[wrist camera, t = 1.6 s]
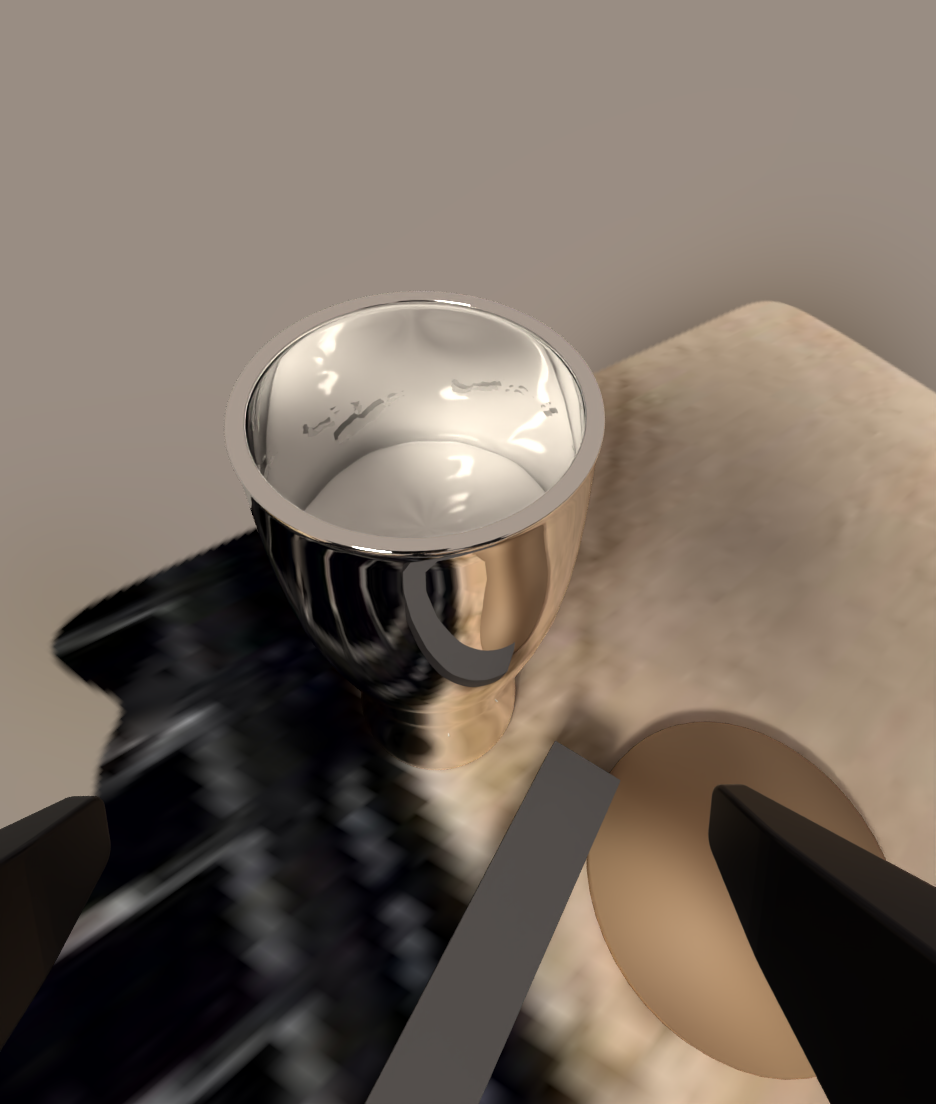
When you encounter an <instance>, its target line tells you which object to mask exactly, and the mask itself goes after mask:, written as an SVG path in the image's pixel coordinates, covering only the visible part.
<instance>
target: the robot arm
mask: <svg viewBox="0 0 936 1104" xmlns="http://www.w3.org/2000/svg"><path fill="white" fill-rule="evenodd" d="M708 839H709V845H710V849H711V851H712V854H713V857H714V859H715V861H716V864H717V866H718V869H719V871H720V874H721V876H722V879H723V881H724V884H725V886H726V888H727V891H728V893H729V896H730V898H731V901H732V903H733V906H734V908H735V911H736V913H737V916H738V918H739V920H740V923H741V925H742V928H743V930H744V933H745V935H746V938H747V940H748V942H749V945H750V947H751V949H752V952H753V954H754V956H755V958H756V960H757V962H758V964H759V966H760V969H761V971H762V973H763V975H764V977H765V979H766V981H767V982H768V984H769V986H770V988H771V990H772V992H773V994H774V996H775V998H776V1000H777V1002H778V1004H779V1006H780V1008H781V1009H782V1011H783V1013H784V1015H785V1017H786V1019H787V1021H788V1023H789V1025H790V1027H791V1029H792V1031H793V1033H794V1035H795V1036H796V1038H797V1040H798V1042H799V1044H800V1046H801V1048H802V1050H803V1052H804V1054H805V1056H806V1058H807V1060H808V1062H809V1063H810V1065H811V1067H812V1069H813V1071H814V1073H815V1075H816V1077H817V1079H818V1081H819V1083H820V1085H821V1087H822V1089H823V1090H824V1092H825V1094H826V1096H827V1098H828V1100H829V1102H830V1104H936V887H934V886H932V885H930V884H929V883H927V882H925V881H923V880H921V879H919V878H917V877H916V876H914V875H912V874H910V873H908V872H906V871H904V870H902V869H901V868H899V867H897V866H895V865H893V864H891V863H889V862H888V861H886V860H884V859H882V858H880V857H878V856H876V855H874V854H873V853H871V852H869V851H867V850H865V849H863V848H861V847H860V846H858V845H856V844H854V843H852V842H850V841H848V840H847V839H845V838H843V837H841V836H839V835H837V834H835V833H834V832H832V831H830V830H828V829H826V828H824V827H822V826H820V825H819V824H817V823H815V822H813V821H811V820H809V819H807V818H806V817H804V816H802V815H800V814H798V813H796V812H794V811H793V810H791V809H789V808H787V807H785V806H783V805H781V804H780V803H778V802H776V801H774V800H772V799H770V798H768V797H766V796H765V795H763V794H761V793H759V792H757V791H755V790H753V789H752V788H750V787H748V786H746V785H743V784H719V785H717V786H716V787H714V789H713V792H712V797H711V807H710V818H709V828H708ZM110 849H111V843H110V836H109V830H108V823H107V817H106V810H105V805H104V802H103V800H102V799H101V798H99V797H97V796H73V797H68V798H65V799H63V800H61V801H59V802H57V803H55V804H53V805H51V806H49V807H46V808H44V809H42V810H40V811H38V812H36V813H34V814H31V815H29V816H27V817H25V818H23V819H21V820H19V821H17V822H15V823H13V824H10V825H8V826H6V827H4V828H2V829H0V1051H1V1049H2V1048H3V1046H4V1045H5V1043H6V1041H7V1040H8V1038H9V1037H10V1035H11V1033H12V1032H13V1030H14V1029H15V1027H16V1026H17V1024H18V1022H19V1021H20V1019H21V1018H22V1016H23V1015H24V1013H25V1011H26V1010H27V1008H28V1007H29V1005H30V1004H31V1002H32V1000H33V999H34V997H35V996H36V994H37V992H38V991H39V989H40V987H41V986H42V984H43V982H44V981H45V979H46V977H47V976H48V974H49V972H50V970H51V968H52V967H53V965H54V963H55V961H56V960H57V958H58V956H59V954H60V952H61V950H62V948H63V946H64V944H65V943H66V941H67V939H68V937H69V935H70V933H71V931H72V929H73V927H74V925H75V923H76V922H77V920H78V918H79V916H80V914H81V912H82V910H83V908H84V906H85V904H86V903H87V901H88V899H89V897H90V895H91V893H92V891H93V889H94V887H95V885H96V884H97V882H98V880H99V878H100V876H101V874H102V872H103V870H104V868H105V866H106V864H107V862H108V859H109V855H110Z"/></svg>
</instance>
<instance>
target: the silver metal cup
mask: <svg viewBox="0 0 936 1104" xmlns="http://www.w3.org/2000/svg"><path fill="white" fill-rule="evenodd" d="M604 432H605V409H604V403H603V398H602V394H601V391H600V388H599V385H598V383H597V381H596V378H595V377H594V375H593V373H592V371H591V370H590V368H589V366H588V365H587V363H586V362H585V360H584V359H583V358H582V357H581V355H580V354H579V353H578V352H577V350H576V349H575V348H574V347H573V346H572V345H571V344H570V343H569V342H568V341H567V340H565V339H564V338H563V337H562V336H561V335H559V334H558V333H557V332H556V331H554V330H553V329H552V328H550V327H549V326H547V325H545V324H543V323H542V322H541V321H539V320H537V319H535V318H533V317H532V316H530V315H528V314H526V313H523V312H521V311H519V310H517V309H514V308H512V307H509V306H506V305H504V304H501V303H497V302H494V301H491V300H487V299H483V298H479V297H474V296H469V295H464V294H457V293H448V292H435V291H405V292H392V293H384V294H377V295H371V296H366V297H361V298H358V299H353V300H349V301H346V302H342V303H339V304H336V305H333V306H330V307H328V308H325V309H323V310H320V311H318V312H316V313H313V314H311V315H309V316H307V317H305V318H303V319H301V320H299V321H297V322H296V323H294V324H292V325H291V326H289V327H287V328H286V329H285V330H283V331H282V332H280V333H279V334H277V335H276V336H275V337H273V338H272V339H271V340H270V341H269V342H267V343H266V344H265V345H264V346H263V347H262V348H261V349H260V350H259V351H258V352H257V353H256V354H255V355H254V356H253V357H252V358H251V360H250V361H249V362H248V363H247V365H246V366H245V368H244V369H243V370H242V372H241V373H240V375H239V377H238V379H237V380H236V382H235V385H234V387H233V389H232V391H231V394H230V396H229V399H228V403H227V406H226V412H225V419H224V437H225V444H226V450H227V454H228V457H229V460H230V463H231V465H232V468H233V470H234V472H235V474H236V476H237V477H238V479H239V481H240V482H241V484H242V487H243V490H244V493H245V495H246V498H247V501H248V504H249V507H250V510H251V513H252V516H253V519H254V522H255V525H256V528H257V531H258V533H259V536H260V539H261V541H262V544H263V547H264V549H265V552H266V555H267V557H268V560H269V563H270V565H271V567H272V570H273V572H274V574H275V576H276V578H277V580H278V583H279V585H280V587H281V589H282V591H283V594H284V596H285V598H286V600H287V602H288V604H289V606H290V608H291V609H292V611H293V613H294V614H295V616H296V617H297V619H298V621H299V622H300V624H301V626H302V627H303V629H304V630H305V632H306V634H307V635H308V637H309V638H310V640H311V641H312V643H313V644H314V645H315V647H316V648H317V649H318V650H319V651H320V652H321V654H322V655H323V656H324V657H325V658H326V659H327V660H328V661H329V662H330V663H331V664H332V665H333V667H334V668H335V669H336V670H337V671H338V672H339V673H340V674H341V675H342V676H343V677H344V678H346V679H347V680H348V681H349V682H350V683H351V684H353V685H354V686H355V687H356V688H357V689H359V690H360V691H361V704H362V710H363V714H364V718H365V721H366V723H367V726H368V728H369V730H370V732H371V734H372V735H373V737H374V738H375V740H376V741H377V742H378V744H379V745H380V746H381V747H382V748H383V749H384V750H385V751H386V752H387V753H389V754H390V755H391V756H393V757H394V758H396V759H397V760H399V761H401V762H403V763H405V764H407V765H410V766H413V767H416V768H420V769H426V770H447V769H453V768H457V767H461V766H463V765H466V764H468V763H471V762H473V761H475V760H476V759H478V758H480V757H481V756H483V755H484V754H485V753H487V752H488V751H489V750H490V749H491V748H492V747H493V746H494V745H495V744H496V743H497V742H498V741H499V739H500V738H501V737H502V735H503V734H504V732H505V730H506V728H507V726H508V724H509V722H510V719H511V716H512V713H513V709H514V703H515V690H516V688H515V678H514V677H515V676H516V675H517V674H518V673H519V672H520V670H521V669H522V668H523V667H524V666H525V664H526V663H527V662H528V661H529V659H530V658H531V657H532V655H533V654H534V652H535V651H536V649H537V648H538V646H539V645H540V643H541V642H542V640H543V638H544V637H545V635H546V634H547V632H548V631H549V629H550V627H551V625H552V624H553V622H554V619H555V617H556V615H557V612H558V610H559V607H560V605H561V603H562V600H563V598H564V595H565V593H566V590H567V588H568V585H569V582H570V580H571V576H572V572H573V569H574V565H575V562H576V558H577V554H578V551H579V547H580V544H581V539H582V534H583V530H584V525H585V520H586V515H587V510H588V505H589V499H590V493H591V487H592V481H593V475H594V470H595V465H596V460H597V458H598V456H599V453H600V450H601V447H602V443H603V438H604Z"/></svg>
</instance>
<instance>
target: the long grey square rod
mask: <svg viewBox="0 0 936 1104" xmlns="http://www.w3.org/2000/svg"><path fill="white" fill-rule="evenodd" d="M620 781H621V780H619V779H618V778H616V777H614V776H613V775H611V774H609V773H608V772H606V771H604V770H603V769H601V768H600V767H598V766H596V765H595V764H593V763H591V762H590V761H588V760H586V759H585V758H583V757H581V756H580V755H578V754H577V753H575V752H573V751H572V750H570V749H568V748H567V747H565V746H563V745H562V744H560V743H558V742H557V741H555V742H554V744H553V745H552V747H551V749H550V751H549V753H548V754H547V756H546V758H545V760H544V762H543V764H542V766H541V767H540V769H539V771H538V773H537V775H536V777H535V779H534V781H533V783H532V785H531V787H530V788H529V790H528V792H527V794H526V796H525V798H524V800H523V802H522V804H521V806H520V808H519V810H518V811H517V813H516V815H515V817H514V819H513V821H512V823H511V825H510V827H509V829H508V831H507V832H506V834H505V836H504V838H503V840H502V842H501V844H500V846H499V848H498V850H497V852H496V853H495V855H494V857H493V859H492V861H491V863H490V865H489V867H488V869H487V871H486V873H485V874H484V876H483V878H482V880H481V882H480V884H479V886H478V888H477V890H476V892H475V894H474V896H473V897H472V899H471V901H470V903H469V905H468V907H467V909H466V911H465V913H464V915H463V917H462V918H461V920H460V922H459V924H458V926H457V928H456V930H455V932H454V934H453V936H452V938H451V939H450V941H449V943H448V945H447V947H446V949H445V951H444V953H443V955H442V957H441V959H440V960H439V962H438V964H437V966H436V968H435V970H434V972H433V974H432V976H431V978H430V980H429V982H428V983H427V985H426V987H425V989H424V991H423V993H422V995H421V997H420V999H419V1001H418V1003H417V1004H416V1006H415V1008H414V1010H413V1012H412V1014H411V1016H410V1018H409V1020H408V1022H407V1024H406V1025H405V1027H404V1029H403V1031H402V1033H401V1035H400V1037H399V1039H398V1041H397V1043H396V1045H395V1046H394V1048H393V1050H392V1052H391V1054H390V1056H389V1058H388V1060H387V1062H386V1064H385V1066H384V1068H383V1069H382V1071H381V1073H380V1075H379V1077H378V1079H377V1081H376V1083H375V1085H374V1087H373V1089H372V1090H371V1092H370V1094H369V1096H368V1098H367V1100H366V1102H365V1104H479V1102H480V1099H481V1097H482V1095H483V1093H484V1090H485V1088H486V1086H487V1083H488V1081H489V1079H490V1077H491V1074H492V1072H493V1070H494V1068H495V1065H496V1063H497V1061H498V1058H499V1056H500V1054H501V1052H502V1049H503V1047H504V1045H505V1043H506V1040H507V1038H508V1036H509V1033H510V1031H511V1029H512V1027H513V1024H514V1022H515V1020H516V1018H517V1015H518V1013H519V1011H520V1008H521V1006H522V1004H523V1002H524V999H525V997H526V995H527V992H528V990H529V988H530V986H531V983H532V981H533V979H534V977H535V974H536V972H537V970H538V967H539V965H540V963H541V961H542V958H543V956H544V954H545V952H546V949H547V947H548V945H549V942H550V940H551V938H552V936H553V933H554V931H555V929H556V927H557V924H558V922H559V920H560V917H561V915H562V913H563V911H564V908H565V906H566V904H567V902H568V899H569V897H570V895H571V892H572V890H573V888H574V886H575V883H576V881H577V879H578V877H579V874H580V872H581V870H582V867H583V865H584V863H585V861H586V858H587V856H588V854H589V852H590V849H591V847H592V845H593V842H594V840H595V838H596V836H597V833H598V831H599V829H600V826H601V824H602V822H603V820H604V817H605V815H606V813H607V811H608V808H609V806H610V804H611V801H612V799H613V797H614V795H615V792H616V790H617V788H618V786H619V783H620Z"/></svg>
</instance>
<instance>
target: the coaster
mask: <svg viewBox="0 0 936 1104" xmlns="http://www.w3.org/2000/svg"><path fill="white" fill-rule="evenodd" d="M609 774H611V775H613V776H614V777H616V778H618V779H619V780H621V781H620V783H619V786H618V788H617V790H616V792H615V795H614V797H613V799H612V801H611V804H610V806H609V808H608V811H607V813H606V815H605V817H604V820H603V822H602V824H601V826H600V829H599V831H598V833H597V836H596V838H595V840H594V842H593V845H592V847H591V849H590V852H589V854H588V856H587V874H588V882H589V890H590V895H591V899H592V903H593V907H594V911H595V915H596V918H597V921H598V923H599V926H600V929H601V932H602V935H603V937H604V940H605V942H606V944H607V946H608V948H609V950H610V952H611V954H612V956H613V958H614V960H615V962H616V964H617V966H618V967H619V969H620V970H621V972H622V974H623V975H624V977H625V978H626V980H627V982H628V983H629V985H630V986H631V987H632V989H633V990H634V991H635V992H636V994H637V995H638V996H639V998H640V999H641V1000H642V1002H643V1003H644V1004H645V1005H646V1006H647V1007H648V1008H649V1009H650V1010H651V1011H652V1013H653V1014H654V1015H655V1016H656V1017H657V1018H658V1019H659V1020H660V1021H661V1022H662V1023H663V1024H664V1025H665V1026H667V1027H668V1028H669V1029H670V1030H672V1031H673V1032H674V1033H675V1034H676V1035H678V1036H679V1037H680V1038H681V1039H682V1040H684V1041H685V1042H687V1043H688V1044H690V1045H692V1046H693V1047H695V1048H696V1049H698V1050H699V1051H701V1052H703V1053H704V1054H706V1055H708V1056H709V1057H711V1058H713V1059H715V1060H717V1061H720V1062H722V1063H724V1064H726V1065H728V1066H730V1067H733V1068H735V1069H737V1070H740V1071H744V1072H747V1073H750V1074H754V1075H757V1076H761V1077H768V1078H776V1079H784V1080H788V1079H808V1078H812V1077H816V1075H815V1073H814V1071H813V1069H812V1067H811V1065H810V1063H809V1062H808V1060H807V1058H806V1056H805V1054H804V1052H803V1050H802V1048H801V1046H800V1044H799V1042H798V1040H797V1038H796V1036H795V1035H794V1033H793V1031H792V1029H791V1027H790V1025H789V1023H788V1021H787V1019H786V1017H785V1015H784V1013H783V1011H782V1009H781V1008H780V1006H779V1004H778V1002H777V1000H776V998H775V996H774V994H773V992H772V990H771V988H770V986H769V984H768V982H767V981H766V979H765V977H764V975H763V973H762V971H761V969H760V966H759V964H758V962H757V960H756V958H755V956H754V954H753V952H752V949H751V947H750V945H749V942H748V940H747V938H746V935H745V933H744V930H743V928H742V925H741V923H740V920H739V918H738V916H737V913H736V911H735V908H734V906H733V903H732V901H731V898H730V896H729V893H728V891H727V888H726V886H725V884H724V881H723V879H722V876H721V874H720V871H719V869H718V866H717V864H716V861H715V859H714V857H713V854H712V851H711V849H710V845H709V839H708V828H709V818H710V807H711V797H712V792H713V789H714V787H716V786H717V785H719V784H743V785H746V786H748V787H750V788H752V789H753V790H755V791H757V792H759V793H761V794H763V795H765V796H766V797H768V798H770V799H772V800H774V801H776V802H778V803H780V804H781V805H783V806H785V807H787V808H789V809H791V810H793V811H794V812H796V813H798V814H800V815H802V816H804V817H806V818H807V819H809V820H811V821H813V822H815V823H817V824H819V825H820V826H822V827H824V828H826V829H828V830H830V831H832V832H834V833H835V834H837V835H839V836H841V837H843V838H845V839H847V840H848V841H850V842H852V843H854V844H856V845H858V846H860V847H861V848H863V849H865V850H867V851H869V852H871V853H873V854H874V855H876V856H878V857H880V858H882V859H884V860H885V857H884V855H883V853H882V851H881V849H880V847H879V845H878V843H877V841H876V839H875V837H874V835H873V834H872V832H871V831H870V829H869V828H868V826H867V824H866V823H865V821H864V820H863V818H862V816H861V815H860V814H859V812H858V811H857V810H856V808H855V807H854V806H853V805H852V803H851V802H850V801H849V799H848V798H847V797H846V796H845V795H844V793H843V792H842V791H841V790H840V789H839V788H838V787H837V786H836V785H835V784H834V783H833V782H832V780H830V779H829V778H828V777H827V776H826V775H825V774H824V773H823V772H822V771H821V770H819V769H818V768H817V767H816V766H815V765H814V764H812V763H811V762H810V761H808V760H807V759H806V758H804V757H803V756H802V755H800V754H799V753H797V752H796V751H794V750H793V749H791V748H789V747H788V746H786V745H784V744H783V743H781V742H779V741H777V740H775V739H773V738H771V737H768V736H766V735H764V734H762V733H759V732H756V731H753V730H750V729H748V728H744V727H740V726H736V725H731V724H726V723H716V722H692V723H686V724H680V725H675V726H672V727H669V728H666V729H663V730H660V731H658V732H656V733H654V734H652V735H650V736H648V737H647V738H645V739H644V740H642V741H641V742H640V743H638V744H637V745H635V746H634V747H633V748H632V749H631V750H630V751H629V752H628V753H627V754H626V755H625V756H624V757H623V758H622V759H620V760H619V761H618V763H617V764H616V765H615V766H614V768H613V769H612V770H611V772H610V773H609Z"/></svg>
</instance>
